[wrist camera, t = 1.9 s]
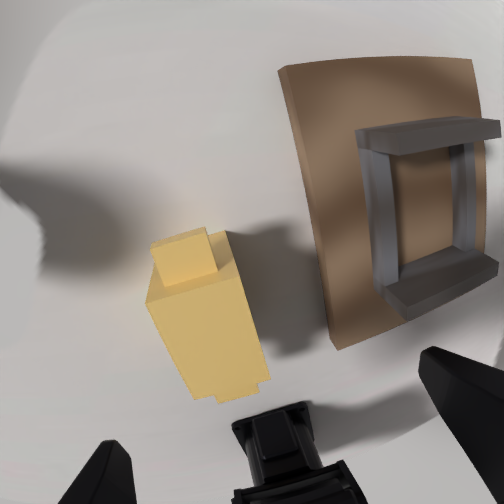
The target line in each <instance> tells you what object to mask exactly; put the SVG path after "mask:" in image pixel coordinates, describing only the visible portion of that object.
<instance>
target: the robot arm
mask: <svg viewBox="0 0 504 504" xmlns="http://www.w3.org/2000/svg"><path fill="white" fill-rule="evenodd" d="M418 373H419V377H420V379H421V380H422V382H423V384H424V386H425V388H426V390H427V392H428V393H429V395H430V397H431V399H432V401H433V403H434V405H435V407H436V408H437V410H438V412H439V414H440V416H441V417H442V419H443V420H444V422H445V423H446V425H447V426H448V427H449V429H450V430H451V432H452V433H453V435H454V436H455V438H456V439H457V441H458V442H459V444H460V445H461V447H462V448H463V450H464V451H465V453H466V454H467V456H468V457H469V459H470V461H471V462H472V463H473V465H474V467H475V468H476V470H477V471H478V473H479V475H480V476H481V478H482V479H483V481H484V483H485V484H486V486H487V487H488V489H489V491H490V492H491V494H492V496H493V497H494V499H495V500H496V502H497V504H504V371H502V370H500V369H497V368H494V367H491V366H489V365H486V364H483V363H480V362H477V361H474V360H472V359H469V358H466V357H463V356H460V355H458V354H455V353H452V352H449V351H447V350H444V349H441V348H438V347H436V346H431V347H429V348H427V349H425V350H423V351H422V352H421V354H420V361H419V369H418ZM231 426H232V430H233V432H234V434H235V436H236V438H237V440H238V441H239V443H240V445H241V447H242V449H243V450H244V452H245V454H246V456H247V457H248V461H249V466H250V470H251V475H252V479H253V483H254V487H250V488H246V489H235V490H234V498H233V499H231V502H232V504H368V502H367V500H366V498H365V496H364V494H363V492H362V490H361V488H360V487H359V485H358V484H357V482H356V480H355V478H354V477H353V475H352V473H351V472H350V470H349V468H348V467H347V465H346V464H345V462H344V460H340V461H337V462H336V463H335V464H332V465H329V466H326V467H323V465H322V462H321V460H320V457H319V455H318V452H317V450H316V447H315V445H314V435H313V430H312V426H311V421H310V416H309V411H308V407H307V405H306V403H304V402H301V403H298V404H295V405H292V406H289V407H285V408H282V409H279V410H276V411H272V412H269V413H266V414H262V415H259V416H255V417H252V418H248V419H244V420H241V421H237V422H234V423H232V425H231ZM58 504H137V500H136V493H135V486H134V478H133V470H132V461H131V458H130V456H129V454H128V453H127V452H126V450H125V449H124V448H123V447H122V446H121V445H120V444H119V442H118V441H116V440H105V441H102V442H101V443H100V445H99V446H98V448H97V449H96V450H95V452H94V453H93V455H92V456H91V457H90V459H89V460H88V462H87V463H86V464H85V466H84V467H83V469H82V470H81V471H80V473H79V474H78V476H77V477H76V478H75V480H74V481H73V483H72V484H71V485H70V487H69V488H68V490H67V491H66V492H65V494H64V495H63V497H62V498H61V500H60V501H59V502H58Z"/></svg>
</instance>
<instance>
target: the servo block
mask: <svg viewBox="0 0 504 504" xmlns="http://www.w3.org/2000/svg"><path fill="white" fill-rule="evenodd" d="M150 251H151V254H152V256H153V259H154V261H155V264H154V268H153V272H152V276H151V280H150V284H149V289H148V293H147V297H146V302H145V304H146V307H147V309H148V311H149V313H150V315H151V317H152V320H153V322H154V324H155V326H156V328H157V330H158V332H159V334H160V336H161V338H162V340H163V342H164V344H165V346H166V348H167V350H168V352H169V354H170V356H171V358H172V360H173V362H174V364H175V366H176V367H177V369H178V371H179V373H180V375H181V377H182V379H183V380H184V382H185V384H186V386H187V388H188V390H189V391H190V393H191V395H192V397H193V398H194V400H196V399H200V398H204V397H208V396H212V395H214V396H215V398H216V400H217V402H218V404H219V403H223V402H226V401H230V400H234V399H238V398H241V397H245V396H249V395H252V394H256V393H259V388H258V385H257V383H260V382H263V381H266V380H270V379H271V378H270V374H269V371H268V368H267V365H266V362H265V358H264V355H263V352H262V349H261V345H260V342H259V339H258V335H257V332H256V329H255V326H254V322H253V319H252V316H251V312H250V309H249V306H248V302H247V299H246V296H245V292H244V289H243V286H242V282H241V279H240V276H239V272H238V269H237V266H236V263H235V260H234V257H233V254H232V251H231V248H230V245H229V242H228V239H227V235H226V232H225V230H224V231H221V232H218V233H214V234H211V235H207V231H206V228H205V227H201V228H198V229H195V230H192V231H188V232H185V233H182V234H179V235H175V236H172V237H169V238H166V239H162V240H159V241H156V242H153V243H152V245H151V248H150Z"/></svg>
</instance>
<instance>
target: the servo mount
mask: <svg viewBox="0 0 504 504" xmlns="http://www.w3.org/2000/svg"><path fill="white" fill-rule="evenodd" d="M278 74H279V78H280V82H281V86H282V90H283V94H284V98H285V102H286V106H287V110H288V114H289V118H290V123H291V127H292V131H293V136H294V140H295V144H296V149H297V154H298V158H299V163H300V167H301V172H302V177H303V182H304V187H305V192H306V197H307V202H308V207H309V212H310V217H311V223H312V228H313V234H314V239H315V245H316V251H317V257H318V263H319V269H320V275H321V281H322V287H323V294H324V301H325V307H326V314H327V321H328V329H329V336H330V340H331V341H332V343H333V344H334V346H335V347H336V349H337V351H338V350H341V349H343V348H346V347H349V346H351V345H354V344H356V343H359V342H361V341H364V340H366V339H369V338H371V337H374V336H376V335H378V334H381V333H383V332H385V331H388V330H390V329H392V328H395V327H397V326H399V325H401V324H404V323H406V322H408V321H410V320H413V319H415V318H417V317H419V316H421V315H423V314H425V313H427V312H430V311H432V310H434V309H436V308H438V307H440V306H442V305H444V304H446V303H448V302H450V301H452V300H454V299H456V298H458V297H460V296H461V295H463V294H465V293H467V292H469V291H471V290H473V289H475V288H476V287H478V286H480V285H481V284H483V283H485V282H487V281H488V280H490V279H492V278H494V277H495V276H497V273H498V265H499V262H498V261H496V260H494V259H492V258H491V257H489V256H487V255H485V254H484V247H485V232H486V161H485V146H484V140H488V139H495V138H501V126H500V120H493V119H484V118H482V116H481V109H480V102H479V95H478V89H477V84H476V78H475V73H474V68H473V64H472V59H462V58H448V57H426V56H386V57H362V58H348V59H336V60H326V61H317V62H309V63H301V64H294V65H287V66H284V67H283V68H281V69H279V70H278Z"/></svg>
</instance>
